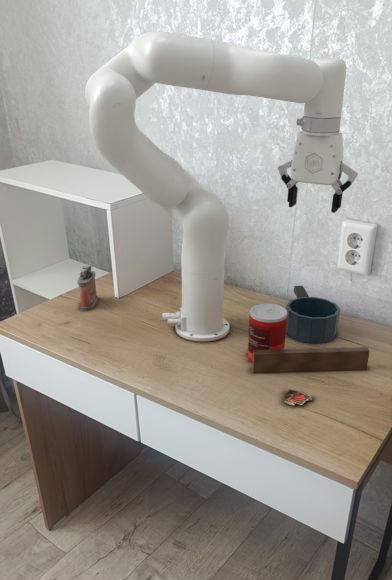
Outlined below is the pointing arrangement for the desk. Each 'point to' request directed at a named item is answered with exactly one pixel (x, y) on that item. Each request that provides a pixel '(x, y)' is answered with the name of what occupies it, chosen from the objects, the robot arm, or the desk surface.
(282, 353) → the wooden board
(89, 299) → the lighter
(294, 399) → the mottled red brown piece
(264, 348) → the canned food
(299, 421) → the desk surface
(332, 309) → the saucepan
